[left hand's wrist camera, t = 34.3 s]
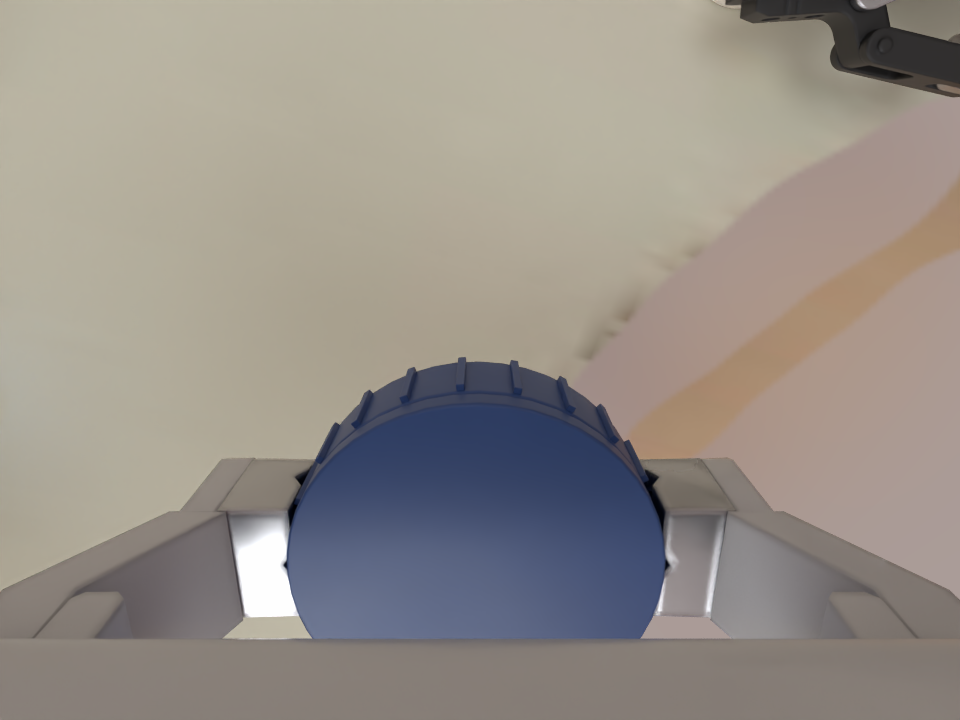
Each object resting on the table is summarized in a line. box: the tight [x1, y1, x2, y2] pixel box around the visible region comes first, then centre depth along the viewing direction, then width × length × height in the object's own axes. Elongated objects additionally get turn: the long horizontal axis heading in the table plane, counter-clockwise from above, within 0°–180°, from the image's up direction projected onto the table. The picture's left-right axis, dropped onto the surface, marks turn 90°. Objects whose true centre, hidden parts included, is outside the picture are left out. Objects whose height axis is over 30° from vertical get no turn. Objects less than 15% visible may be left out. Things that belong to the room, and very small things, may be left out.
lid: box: [287, 357, 666, 639], centre depth 9 cm, size 5×5×2 cm
